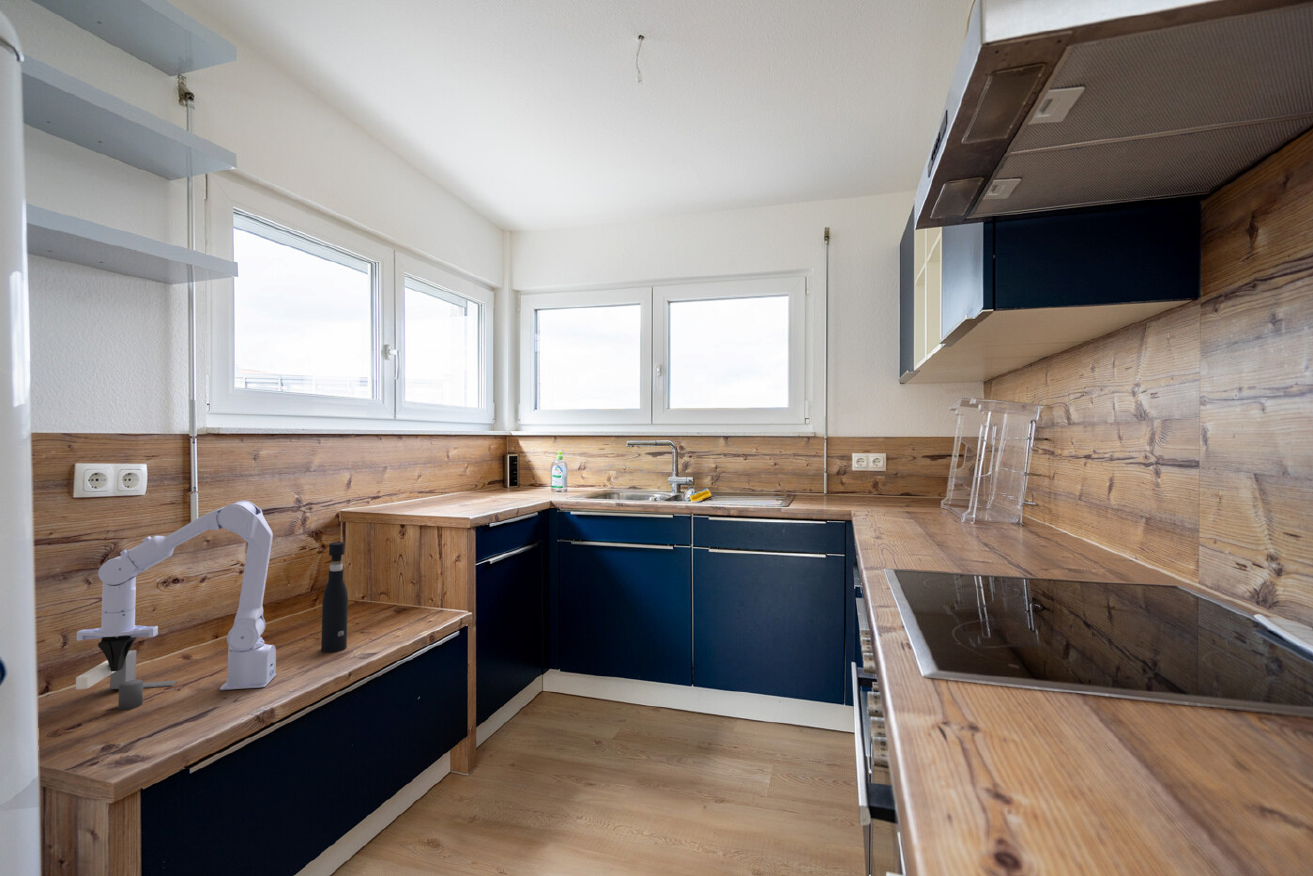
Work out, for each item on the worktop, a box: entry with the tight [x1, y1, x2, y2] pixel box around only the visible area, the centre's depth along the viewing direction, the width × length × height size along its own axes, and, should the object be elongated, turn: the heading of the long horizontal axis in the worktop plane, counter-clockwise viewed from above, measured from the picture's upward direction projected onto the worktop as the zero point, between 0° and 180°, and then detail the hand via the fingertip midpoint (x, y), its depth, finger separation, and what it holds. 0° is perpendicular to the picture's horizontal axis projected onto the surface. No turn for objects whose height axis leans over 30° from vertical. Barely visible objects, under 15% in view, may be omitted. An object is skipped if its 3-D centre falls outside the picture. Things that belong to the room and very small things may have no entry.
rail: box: [116, 679, 178, 691], centre depth 142 cm, size 11×2×1 cm, turn 104°
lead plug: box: [117, 679, 144, 711], centre depth 132 cm, size 4×4×5 cm
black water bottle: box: [320, 541, 349, 653], centre depth 170 cm, size 6×6×30 cm
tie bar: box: [75, 649, 137, 690], centre depth 135 cm, size 3×16×8 cm, turn 14°
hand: (116, 669), depth 136 cm, fingers closed
